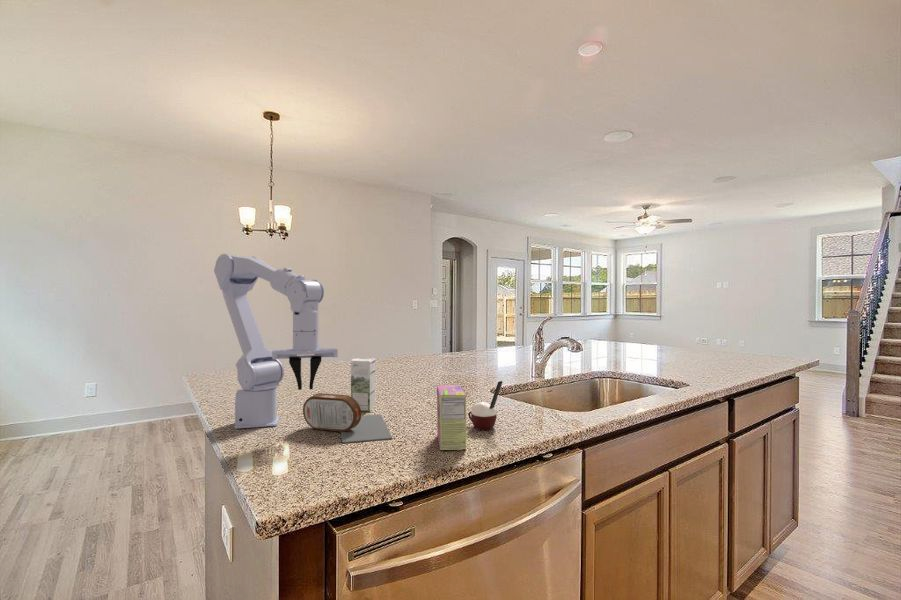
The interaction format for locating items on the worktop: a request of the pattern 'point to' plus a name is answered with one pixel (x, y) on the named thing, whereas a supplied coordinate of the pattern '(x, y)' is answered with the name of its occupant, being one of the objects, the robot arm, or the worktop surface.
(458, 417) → the box
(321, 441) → the worktop surface
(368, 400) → the syrup box
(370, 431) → the mat
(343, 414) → the tin
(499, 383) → the cocoa
